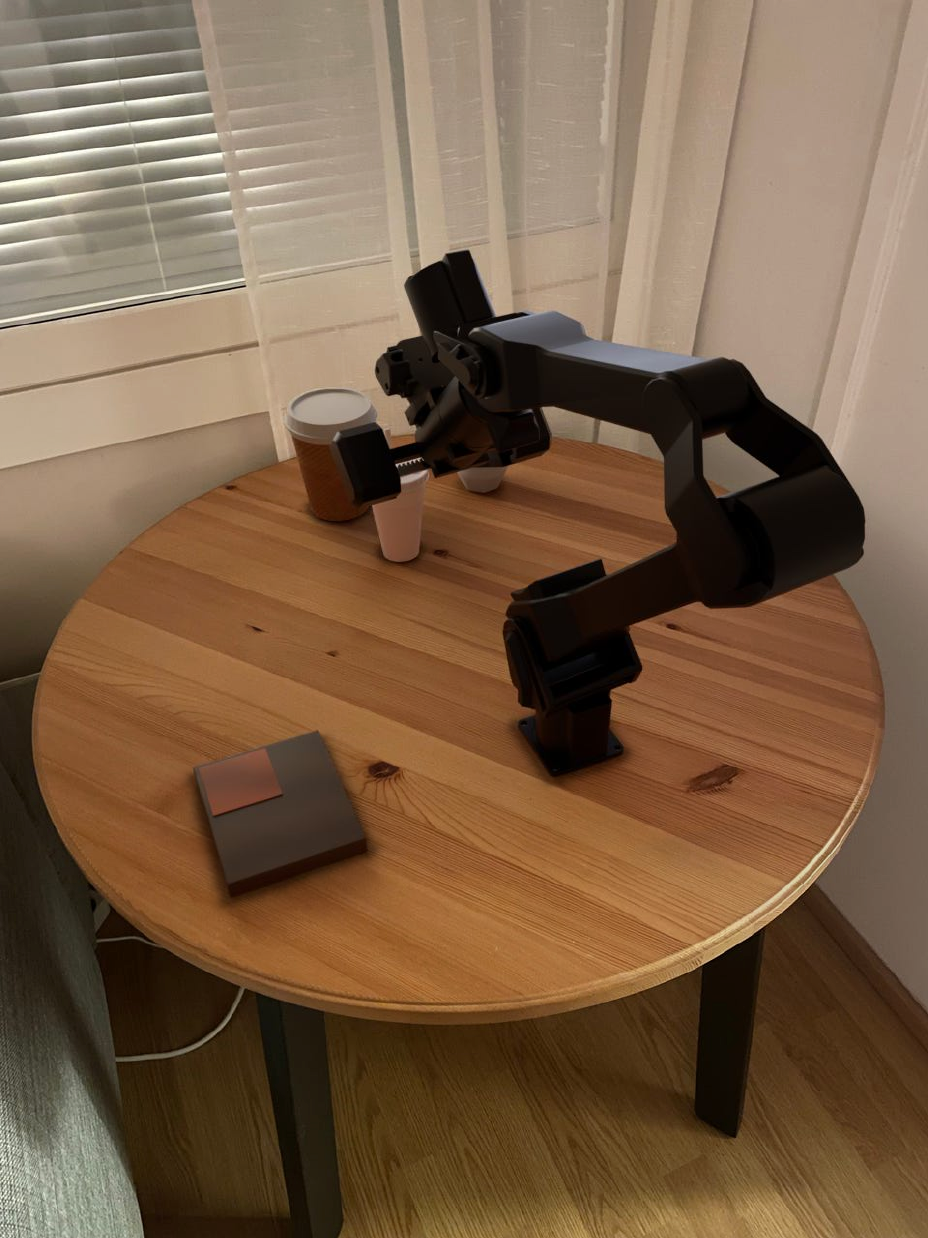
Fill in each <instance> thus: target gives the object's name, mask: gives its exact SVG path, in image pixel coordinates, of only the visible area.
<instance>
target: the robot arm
mask: <svg viewBox="0 0 928 1238" xmlns="http://www.w3.org/2000/svg"><path fill="white" fill-rule="evenodd" d="M403 288H404V291H405V294H406V296H407V298H408V302H409V304H410V307H411V309H412V312H413V315H414V318H415V320H416V323H417V325H418V328H419V330H420V333H421V335H418V336H414V337H409V338H405V339H402V340H401V339H400V340H399V342H398V343H396V345H391V346H388V347H387V348H386V352H384V353H380V356H379V357H378V358H377V359H376V362H375V367H374V375H375V378H376V380H377V382H378V383H379V386H380V387H381V389H382V391H383V394H385V396H386V397H393V396H399V397H400V398H401V399H406V400H407V402H408V404H409V405H408V407H406V409H405V410H404V415H405V418H406V421H407V423H408V426H410V427H412V426H415V431H414V442H411V443H407V444H403V445H400V446H396V447H392V449H390V448H389V446H388V443H387V440H386V438H385V431H384V430H383V428H382V427H381V426H380V425H379V423H377V421H376V422H373V423H369V424H365V425H361V426H357V427H353V428H349V429H345V430H342V431H338V432H337V433H336V435H335V437H334V438H333V440H332V442H331V444H330V446H329V448H330V451H331V454H332V457H333V459H334V462H335V465H336V467H337V470H338V473H339V476H340V478H341V481H342V484H343V486H344V489H345V492H346V495H347V497H348V500H349V503H350V505H352V506H354V507H356V508H358V509H361V508H364V507H367V506H369V507H370V506H371V507H372V505H375V504H379V503H382V502H386V501H389V500H392V499H396V498H397V496H398V495H399V494H400V493H401V478H400V477H403V476H407V475H410V474H414V473H418V472H421V471H425V470H428V471H429V470H431V472H432V474H433V475H432V476H433V477H434V479H438V478H442V477H445V476H449V475H452V474H455V473H456V474H457V472H460V471H463V470H466V469H470V468H487V467H491V468H493V467H506V466H507V467H509V466H512V465H516V464H519V463H523V462H526V461H528V460H529V461H530V460H531V459H536V458H539V457H542V456H543V455H544V454H545V453H547V452H548V451H549V450H550V449H551V445H552V442H553V441H552V440H553V439H552V438H553V433H552V431H551V427H550V425H549V422H548V420H547V417H546V415H545V412H544V409H543V408H557V409H560V410H564V411H567V412H571V413H574V414H577V415H580V416H581V415H582V416H584V417H588V418H591V419H595V420H599V421H602V422H605V423H609V424H613V425H615V426H620V427H623V428H625V429H630V430H634V431H637V432H640V433H643V434H648V435H650V436H651V437H652V439H653V441H654V443H655V445H656V446H657V448H658V450H659V452H660V453H661V455H662V456H663V486H664V491H663V493H664V511H665V515H666V516H667V518H668V520H669V522H670V523H671V525H672V527H673V529H674V531H675V532H676V537H675V540H676V541H675V542H674V543H672V544H671V545H669V546H667V547H664V548H663V549H660V550H658V551H655V552H654V553H652V554H650V555H648V556H645V557H643V558H641V559H639V560H637V561H635V562H633V563H630V564H628V565H626V566H625V567H622V568H620V569H618V570H615V571H614V572H611V573H610V574H607V572H606V569H605V566H604V562H603V559H602V557H601V558H598V559H595V560H592V561H589V562H586V563H583V564H580V565H577V566H574V567H571V568H568V569H565V570H562V571H560V572H557V573H554V574H551V575H548V576H545V577H543V578H539V579H536V580H534V581H533V582H531V583H530V584H528V585H527V586H525V587H523V588H519V589H516V590H514V591H511V592H510V597H511V598H512V599H513V601H511V602H510V603H509V604H508V606H507V608H506V612H505V616H506V618H507V619H506V620H504V622H503V625H502V631H501V632H502V638H503V644H504V649H505V655H506V662H507V666H508V671H509V677H510V679H511V683H512V685H513V687H515V689H516V690H517V703H518V704H519V705H520V707H522V708H527V709H531V710H534V715H531V716H527V717H525V718H522V719H520V720H519V721H518V722H517V728H518V730H519V731H520V733H521V734H522V736H523V737H524V740H526V742H527V743H528V745H529V747H530V748H531V749H532V751H533V752H534V755H535V756H536V757H537V759H538V760H539V762H540V763H541V765H542V766H543V767H544V768H545V769H544V770H546V772H547V773H548V775H549V776H551V777H553V778H557V777H562V776H564V775H567V774H570V773H573V772H576V771H579V770H581V769H585V768H588V767H590V766H594V765H597V764H600V763H603V762H605V761H608V760H611V759H614V758H618V757H620V756H622V755H623V754H624V750H625V747H624V745H623V744H622V743H621V742H620V740H619V739H618V738H617V736H616V735H615V733H613V731H612V730H611V728H610V725H611V716H612V706H613V700H612V698H611V693H612V692H611V691H612V690H615V689H618V688H620V687H622V686H624V685H627V684H633V683H635V682H637V680H638V679H639V677H640V676H641V673H642V672H643V669H644V668H643V664H642V662H641V658H640V657H639V654H638V651H637V649H636V646H635V644H634V642H633V639H632V638H633V637H632V636H631V633H630V631H631V627H630V626H633V625H636V624H639V623H641V622H645V621H648V620H650V619H653V618H656V617H658V616H661V615H663V614H667V613H670V612H673V611H676V610H678V609H680V608H683V607H686V606H689V605H691V604H692V605H693V604H694V603H701V604H702V605H703V606H704V607H706V608H708V609H710V610H716V609H717V610H719V609H720V610H721V609H745V608H750V607H753V606H756V605H759V604H761V603H764V602H766V601H769V600H771V599H774V598H776V597H779V596H782V595H784V594H786V593H787V594H788V593H790V592H792V591H794V590H797V589H799V588H802V587H805V586H807V585H809V584H812V583H815V582H817V581H820V580H822V579H825V578H827V577H829V576H830V577H831V576H833V575H835V574H837V573H840V572H842V571H844V570H848V569H851V568H852V567H853V566H855V565H856V564H858V563H859V562H860V560H861V559H862V558H863V557H864V555H865V550H864V544H865V541H866V513H865V508H864V505H863V503H862V500H861V498H860V496H859V495H858V493H857V491H856V490H855V488H854V487H853V485H852V484H851V482H850V481H849V479H848V478H847V476H846V473H844V471H843V470H842V468H841V466H840V465H839V464H838V462H837V460H836V459H835V457H834V456H833V454H832V453H831V451H830V449H829V448H828V446H827V444H826V443H825V441H824V440H823V439H822V437H820V435H819V434H818V433H817V432H815V431H814V430H813V429H811V428H810V427H808V426H807V425H805V424H804V423H803V422H801V421H800V420H798V419H797V418H795V417H794V416H793V415H791V414H790V413H788V412H787V411H786V410H784V409H783V408H781V407H780V406H778V405H777V404H776V403H775V402H773V401H772V400H770V399H769V398H768V397H767V396H766V395H765V393H764V392H763V389H761V387H760V385H759V384H758V382H757V381H756V379H755V378H754V376H753V374H752V373H751V371H750V370H749V369H748V368H747V367H746V365H745V364H744V363H743V362H741V361H738V360H737V359H735V358H730V359H729V358H726V357H724V356H716V357H713V358H705V357H704V358H703V357H698V356H692V355H687V354H681V353H674V352H669V351H664V350H657V349H651V348H646V347H641V346H633V345H629V344H623V343H619V342H618V343H617V342H612V341H605V340H601V339H594V338H592V337H590V336H588V335H587V333H586V330H585V326H584V324H583V323H581V322H580V321H578V320H576V319H573V318H572V317H569V316H567V315H565V314H564V313H561V312H559V311H556V310H547V311H542V312H537V313H535V312H533V311H530V310H527V309H526V310H521V311H517V312H511V313H507V314H502V315H498V316H497V313H496V311H495V308H494V305H493V303H492V301H491V299H490V295H489V293H488V290H487V288H486V285H485V283H484V280H483V277H482V275H481V271H480V269H479V267H478V264H477V262H476V260H475V259H474V258H473V255H472V254H471V250H469V249H468V248H466V249H461V250H456V251H451V252H450V251H449V252H446V253H444V254H443V256H442V258H441V259H440V260H439V261H438V260H437V261H435V262H433V263H431V264H428V265H427V266H426V267H425V266H424V267H423V268H421V269H420V270H419V271H417V272H416V273H414V274H413V275H409V276H408V277H407V278H406V279H405V281H404V283H403ZM722 434H725V437H727V438H728V440H729V441H730V442H732V443H733V445H735V446H737V447H738V448H740V449H741V450H743V451H744V452H745V453H747V454H748V455H750V456H751V457H752V458H754V459H755V460H756V461H758V462H759V463H761V464H762V465H764V466H765V467H766V468H768V469H769V470H770V471H772V472H773V473H775V474H776V475H777V476H776V477H773V478H770V479H768V480H765V481H761V482H758V483H755V484H752V485H750V486H745V487H744V488H741V489H737V490H734V491H731V492H728V493H725V494H722V495H719V496H716V495H715V493H714V491H713V489H712V488H711V486H710V485H709V483H708V481H707V479H706V478H705V476H704V450H703V449H704V448H703V440H706V439H709V438H713V437H716V436H720V435H722ZM417 458H420V459H419V461H418V460H415V463H414V461H411V464H410V463H409V462H407V461H410V460H414V459H417ZM422 459H423V460H422ZM403 462H407V463H406V464H405V463H403ZM399 463H403V464H402V466H401V465H400V464H399ZM396 464H399V465H398V468H397V466H396Z"/></svg>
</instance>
